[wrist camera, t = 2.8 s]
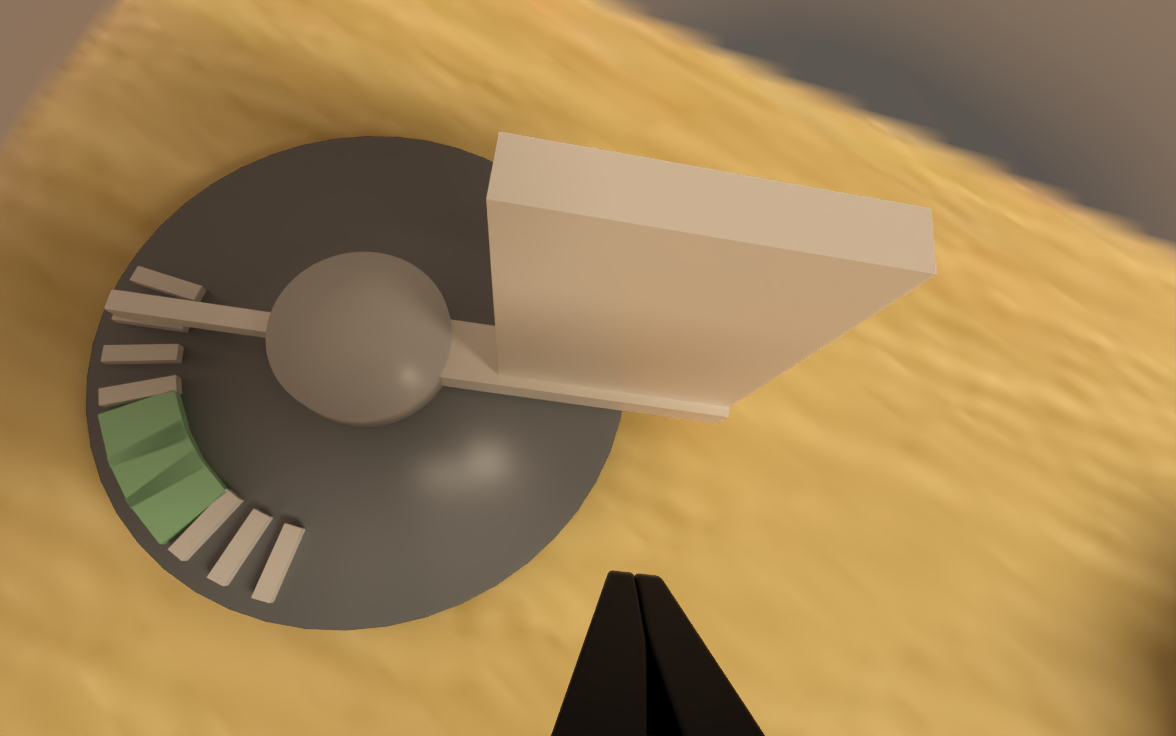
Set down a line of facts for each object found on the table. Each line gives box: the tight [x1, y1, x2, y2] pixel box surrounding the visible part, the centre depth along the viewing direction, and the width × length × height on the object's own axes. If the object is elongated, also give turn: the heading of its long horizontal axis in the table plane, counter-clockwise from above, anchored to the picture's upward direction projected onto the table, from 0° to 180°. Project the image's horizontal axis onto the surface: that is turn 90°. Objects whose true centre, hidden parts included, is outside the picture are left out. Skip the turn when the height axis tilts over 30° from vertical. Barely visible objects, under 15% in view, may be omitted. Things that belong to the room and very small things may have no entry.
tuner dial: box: [86, 136, 622, 630], centre depth 18 cm, size 16×16×1 cm
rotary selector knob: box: [104, 131, 937, 428], centre depth 13 cm, size 18×5×10 cm, turn 83°
